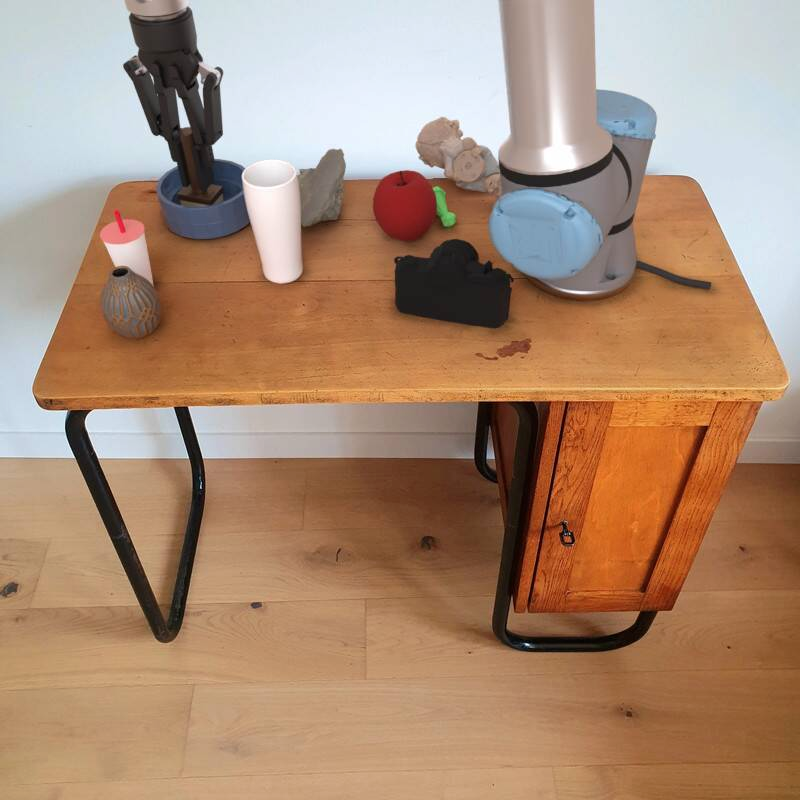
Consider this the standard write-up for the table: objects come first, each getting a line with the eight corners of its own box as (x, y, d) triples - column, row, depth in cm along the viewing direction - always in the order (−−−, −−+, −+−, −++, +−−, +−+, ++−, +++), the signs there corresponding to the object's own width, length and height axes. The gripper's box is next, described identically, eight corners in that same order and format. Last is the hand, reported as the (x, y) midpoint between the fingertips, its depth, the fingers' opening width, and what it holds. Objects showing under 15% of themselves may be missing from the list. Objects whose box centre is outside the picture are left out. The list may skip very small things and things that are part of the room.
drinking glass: (300, 292, 101) (287, 191, 90) (251, 285, 102) (232, 185, 91) (314, 261, 106) (304, 161, 95) (267, 255, 107) (251, 156, 96)
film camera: (517, 287, 102) (525, 229, 95) (504, 334, 95) (511, 276, 89) (406, 268, 105) (406, 211, 98) (386, 313, 98) (384, 255, 92)
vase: (99, 329, 97) (77, 273, 90) (145, 302, 100) (127, 246, 94) (132, 354, 93) (111, 298, 87) (178, 326, 97) (162, 269, 90)
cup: (152, 303, 100) (127, 224, 91) (113, 299, 101) (84, 220, 92) (167, 277, 104) (144, 199, 95) (129, 274, 104) (103, 196, 95)
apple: (447, 241, 108) (450, 177, 101) (388, 257, 106) (386, 192, 99) (421, 207, 114) (422, 145, 107) (364, 221, 112) (361, 158, 105)
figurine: (464, 119, 122) (550, 196, 114) (434, 164, 125) (514, 241, 118) (433, 105, 114) (522, 186, 107) (402, 153, 118) (486, 235, 111)
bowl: (271, 199, 116) (266, 166, 112) (231, 249, 108) (224, 215, 104) (192, 185, 119) (185, 153, 115) (148, 233, 111) (138, 199, 107)
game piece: (413, 209, 112) (435, 236, 110) (426, 185, 110) (449, 211, 107) (435, 211, 115) (456, 237, 112) (448, 187, 113) (470, 213, 110)
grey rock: (350, 216, 119) (295, 181, 119) (376, 160, 113) (318, 123, 112) (310, 255, 109) (250, 217, 109) (338, 196, 102) (273, 155, 102)
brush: (226, 204, 114) (211, 127, 105) (214, 218, 111) (197, 140, 102) (193, 198, 115) (175, 121, 106) (180, 211, 112) (161, 134, 104)
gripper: (86, 14, 92) (137, 188, 109) (201, 28, 89) (235, 206, 106) (121, -9, 97) (164, 162, 114) (230, 5, 94) (258, 178, 111)
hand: (198, 183), depth 110 cm, fingers closed on brush, 2 cm apart
